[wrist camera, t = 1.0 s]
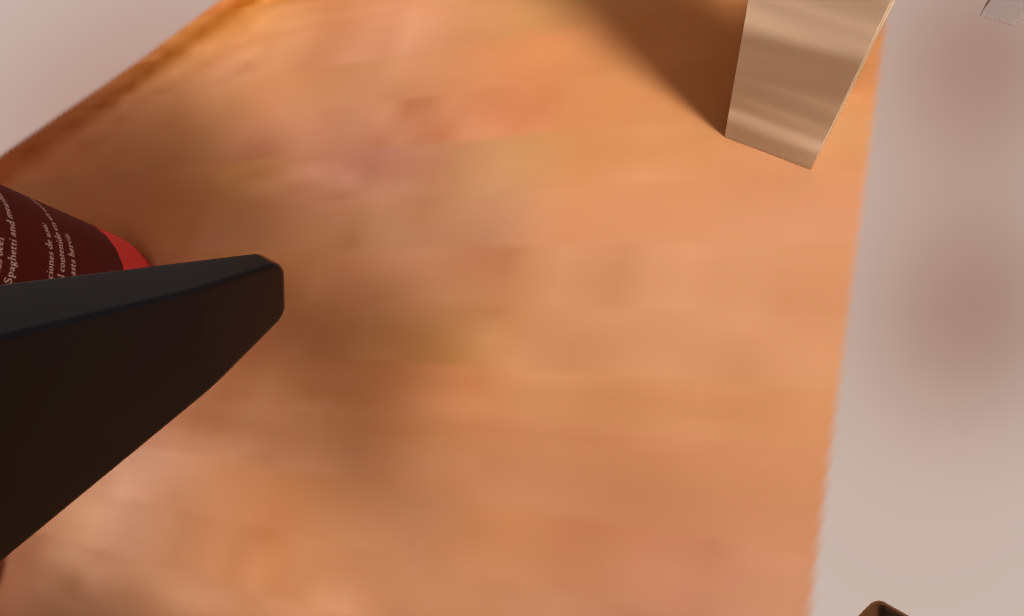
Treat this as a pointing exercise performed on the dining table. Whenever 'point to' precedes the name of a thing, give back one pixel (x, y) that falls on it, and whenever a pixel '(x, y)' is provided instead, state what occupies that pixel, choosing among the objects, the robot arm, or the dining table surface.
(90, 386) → the robot arm
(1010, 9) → the stall
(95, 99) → the dining table surface
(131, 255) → the canned food
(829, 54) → the tethered block
